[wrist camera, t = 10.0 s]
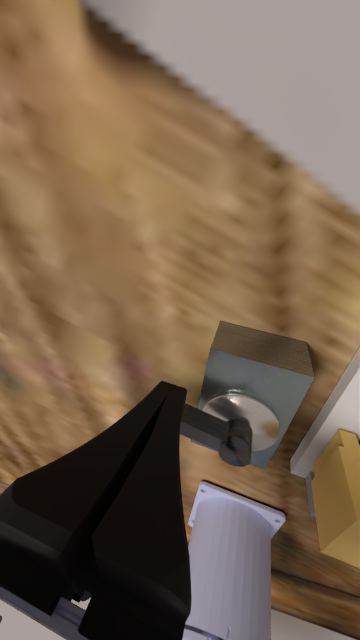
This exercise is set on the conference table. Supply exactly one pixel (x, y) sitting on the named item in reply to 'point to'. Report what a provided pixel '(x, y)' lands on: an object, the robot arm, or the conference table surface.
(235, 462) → the dark lever handle
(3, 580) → the robot arm
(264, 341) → the lever base
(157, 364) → the conference table surface
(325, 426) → the rail
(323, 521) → the carriage
